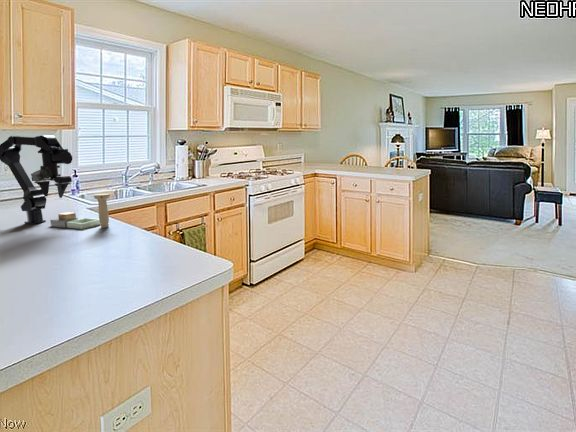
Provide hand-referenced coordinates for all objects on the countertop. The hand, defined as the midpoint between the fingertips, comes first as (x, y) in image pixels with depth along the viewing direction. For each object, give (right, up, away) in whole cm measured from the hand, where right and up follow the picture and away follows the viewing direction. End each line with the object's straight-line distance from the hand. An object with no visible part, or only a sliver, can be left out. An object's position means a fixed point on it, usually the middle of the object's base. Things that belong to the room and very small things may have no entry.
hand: (53, 197), depth 184 cm
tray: (+16, -13, -2) cm, 21 cm away
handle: (+26, -14, -5) cm, 30 cm away
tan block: (+7, -10, -1) cm, 12 cm away
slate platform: (+6, -13, -1) cm, 14 cm away
